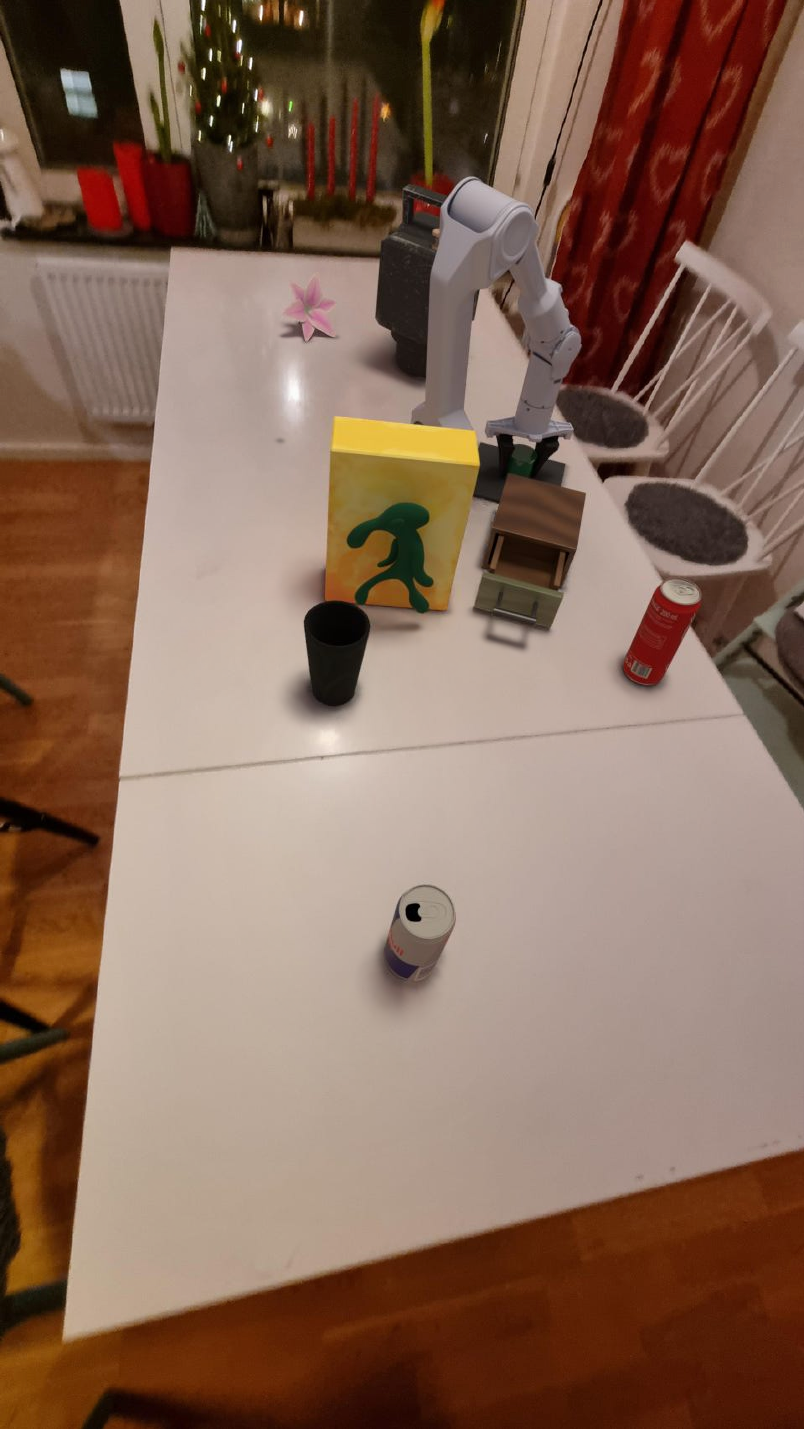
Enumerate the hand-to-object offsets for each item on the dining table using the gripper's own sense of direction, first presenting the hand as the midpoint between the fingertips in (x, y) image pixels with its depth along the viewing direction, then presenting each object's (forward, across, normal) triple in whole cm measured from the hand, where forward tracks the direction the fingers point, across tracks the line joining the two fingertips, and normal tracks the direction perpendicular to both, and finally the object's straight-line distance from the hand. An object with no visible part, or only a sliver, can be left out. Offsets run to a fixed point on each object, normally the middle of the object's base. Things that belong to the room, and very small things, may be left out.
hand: (516, 473), depth 121 cm
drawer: (0, -8, -30) cm, 31 cm away
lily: (+1, -33, +51) cm, 60 cm away
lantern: (+1, -11, +38) cm, 40 cm away
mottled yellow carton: (+1, -27, -30) cm, 40 cm away
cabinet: (+1, -2, -19) cm, 19 cm away
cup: (+1, -36, -46) cm, 58 cm away
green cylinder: (0, 0, 0) cm, 1 cm away
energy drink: (+1, -31, -80) cm, 86 cm away
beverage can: (+1, +7, -44) cm, 45 cm away
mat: (+1, 0, 0) cm, 1 cm away
